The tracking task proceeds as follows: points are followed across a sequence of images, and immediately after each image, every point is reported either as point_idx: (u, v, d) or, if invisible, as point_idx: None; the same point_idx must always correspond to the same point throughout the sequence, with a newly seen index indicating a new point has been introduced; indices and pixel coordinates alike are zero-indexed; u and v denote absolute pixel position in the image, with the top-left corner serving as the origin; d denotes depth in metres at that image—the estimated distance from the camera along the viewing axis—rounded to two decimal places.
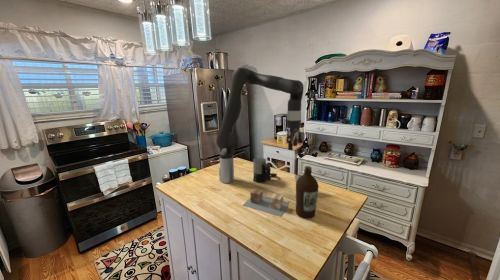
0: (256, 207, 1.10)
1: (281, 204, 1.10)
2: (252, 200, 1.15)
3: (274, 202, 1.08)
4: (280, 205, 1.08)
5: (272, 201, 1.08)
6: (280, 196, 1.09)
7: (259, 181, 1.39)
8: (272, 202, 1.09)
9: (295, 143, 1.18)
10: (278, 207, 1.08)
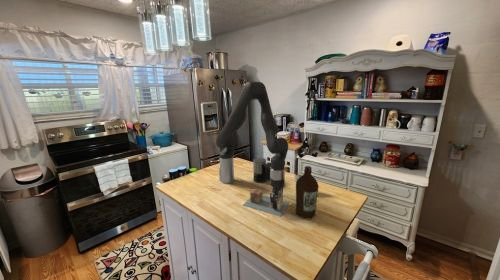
0: (256, 207, 1.10)
1: (281, 204, 1.10)
2: (252, 200, 1.15)
3: None
4: (280, 205, 1.08)
5: None
6: (280, 196, 1.09)
7: (259, 181, 1.39)
8: None
9: None
10: (278, 207, 1.08)
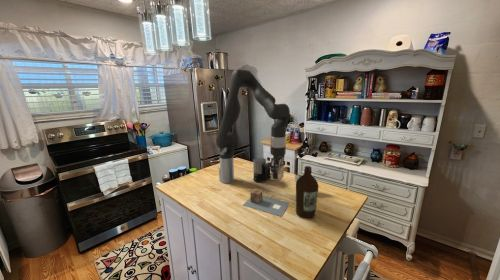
0: (256, 207, 1.10)
1: (282, 175, 1.06)
2: (252, 200, 1.15)
3: None
4: (281, 175, 1.04)
5: None
6: (281, 166, 1.05)
7: (259, 181, 1.39)
8: (272, 172, 1.05)
9: None
10: (279, 177, 1.04)
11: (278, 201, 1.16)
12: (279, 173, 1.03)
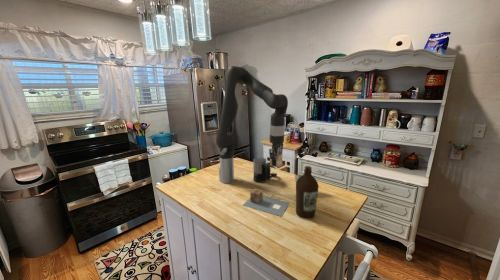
0: (256, 207, 1.10)
1: (280, 162, 1.11)
2: (252, 200, 1.15)
3: None
4: (279, 162, 1.10)
5: None
6: (279, 154, 1.11)
7: (259, 181, 1.39)
8: (271, 159, 1.10)
9: None
10: (277, 164, 1.09)
11: (278, 201, 1.16)
12: (278, 160, 1.09)
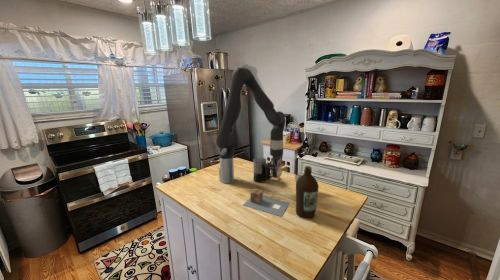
0: (256, 207, 1.10)
1: (280, 173, 1.22)
2: (252, 200, 1.15)
3: None
4: (279, 173, 1.20)
5: None
6: (279, 165, 1.21)
7: (259, 181, 1.39)
8: (272, 171, 1.21)
9: None
10: (277, 175, 1.19)
11: (278, 201, 1.16)
12: (278, 171, 1.19)
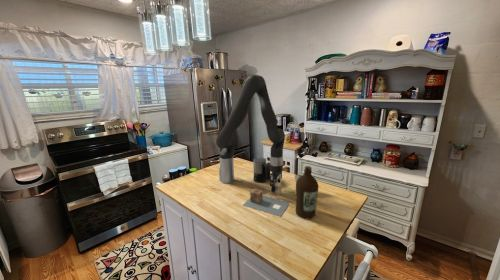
0: (256, 207, 1.10)
1: (280, 190, 1.25)
2: (252, 200, 1.15)
3: None
4: (279, 191, 1.23)
5: None
6: (279, 183, 1.24)
7: (259, 181, 1.39)
8: None
9: None
10: (277, 193, 1.22)
11: (278, 201, 1.16)
12: (277, 190, 1.22)
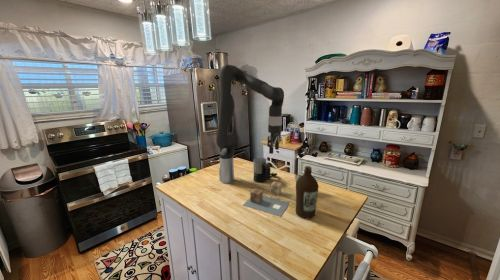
0: (256, 207, 1.10)
1: (280, 191, 1.25)
2: (252, 200, 1.15)
3: (274, 189, 1.23)
4: (279, 191, 1.23)
5: (272, 188, 1.23)
6: (279, 183, 1.24)
7: (259, 180, 1.40)
8: (272, 189, 1.24)
9: (277, 147, 1.24)
10: (277, 193, 1.22)
11: (278, 201, 1.16)
12: (277, 190, 1.22)
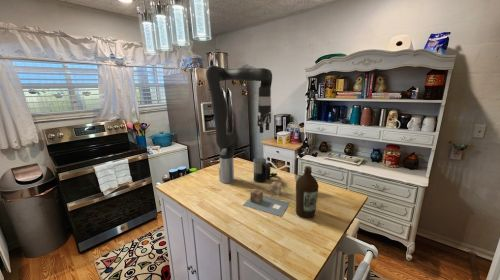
0: (256, 207, 1.10)
1: (280, 190, 1.25)
2: (252, 200, 1.15)
3: (274, 189, 1.23)
4: (279, 191, 1.23)
5: (272, 188, 1.23)
6: (279, 183, 1.24)
7: (259, 180, 1.40)
8: (272, 189, 1.24)
9: (267, 127, 1.28)
10: (277, 193, 1.22)
11: (278, 201, 1.16)
12: (277, 190, 1.22)
